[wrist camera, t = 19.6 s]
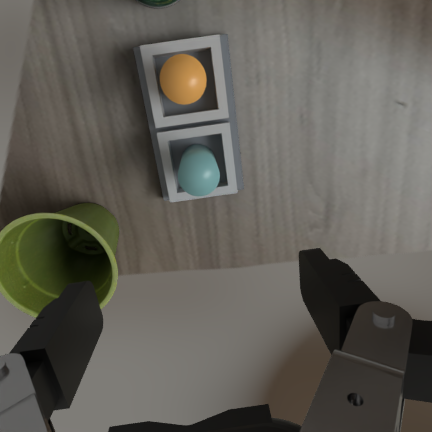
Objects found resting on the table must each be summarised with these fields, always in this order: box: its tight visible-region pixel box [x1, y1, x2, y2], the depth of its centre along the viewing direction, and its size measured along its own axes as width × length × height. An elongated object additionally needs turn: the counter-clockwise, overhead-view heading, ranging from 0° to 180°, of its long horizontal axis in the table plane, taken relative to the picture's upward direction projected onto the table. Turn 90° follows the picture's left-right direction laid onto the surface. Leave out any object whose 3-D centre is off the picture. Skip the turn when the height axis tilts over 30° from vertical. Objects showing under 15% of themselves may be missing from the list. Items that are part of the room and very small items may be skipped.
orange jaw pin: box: [160, 54, 207, 105], centre depth 31 cm, size 4×4×8 cm
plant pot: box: [0, 203, 119, 318], centre depth 36 cm, size 12×12×11 cm
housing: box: [133, 34, 244, 202], centre depth 36 cm, size 17×10×3 cm, turn 8°
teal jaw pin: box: [178, 144, 220, 196], centre depth 34 cm, size 4×4×8 cm
